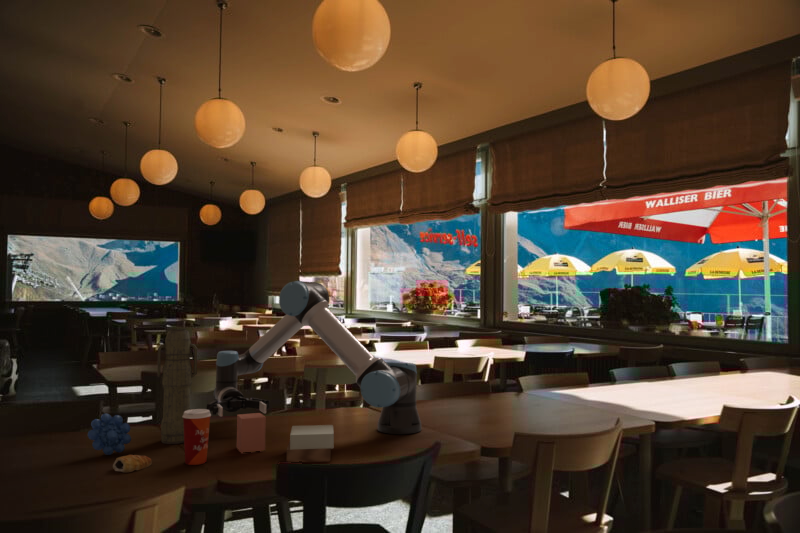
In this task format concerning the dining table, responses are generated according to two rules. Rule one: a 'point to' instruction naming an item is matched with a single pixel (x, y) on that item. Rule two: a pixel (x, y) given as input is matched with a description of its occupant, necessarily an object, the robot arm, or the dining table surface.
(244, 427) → the salmon pink block
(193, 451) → the paper cup
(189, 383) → the stone statue
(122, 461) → the pastry
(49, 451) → the dining table surface
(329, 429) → the tower top
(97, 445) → the blue knobbly flower
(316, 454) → the tower base
